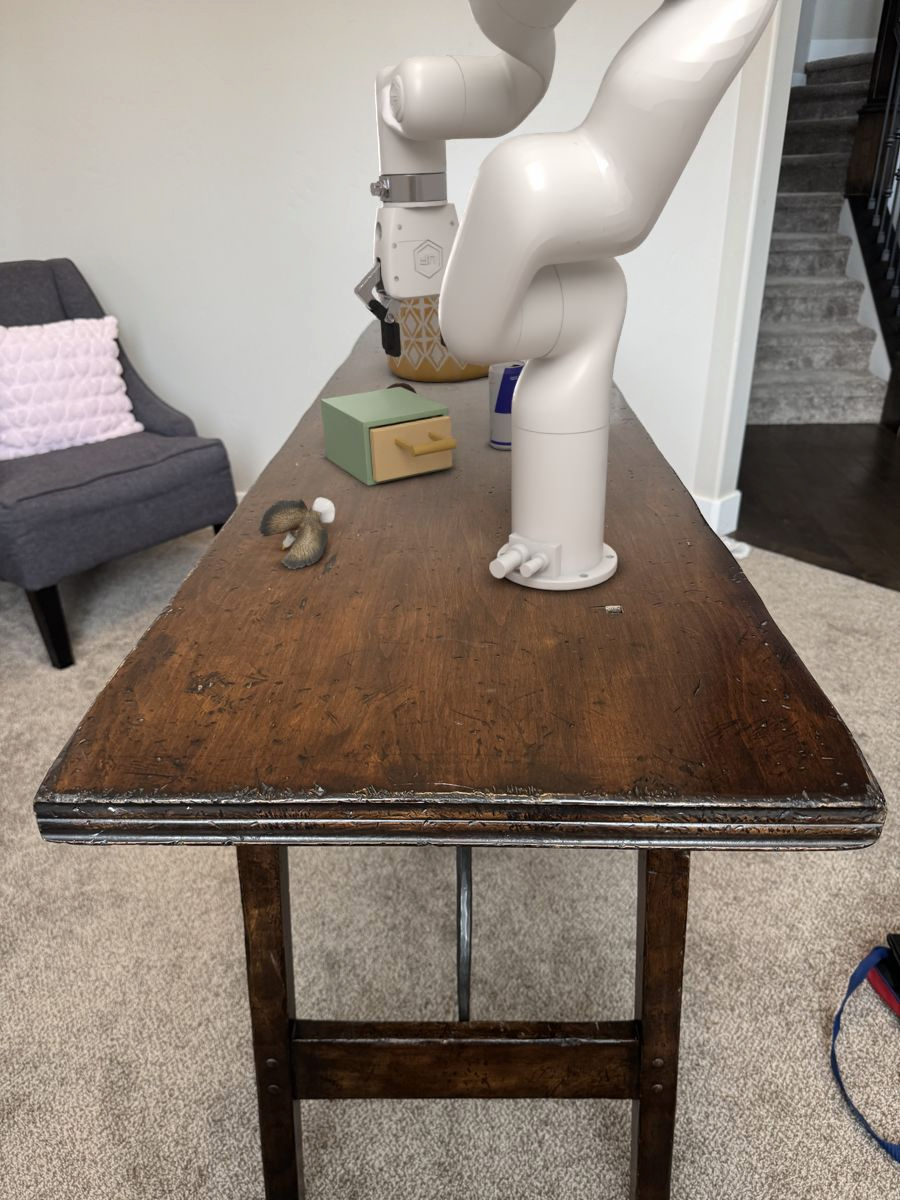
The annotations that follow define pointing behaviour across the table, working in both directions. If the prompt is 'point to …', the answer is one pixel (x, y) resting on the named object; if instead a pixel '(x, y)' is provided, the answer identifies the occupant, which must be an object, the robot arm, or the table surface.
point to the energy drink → (502, 401)
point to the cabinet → (369, 425)
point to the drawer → (411, 447)
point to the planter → (427, 347)
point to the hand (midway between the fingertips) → (421, 350)
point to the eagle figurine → (299, 528)
